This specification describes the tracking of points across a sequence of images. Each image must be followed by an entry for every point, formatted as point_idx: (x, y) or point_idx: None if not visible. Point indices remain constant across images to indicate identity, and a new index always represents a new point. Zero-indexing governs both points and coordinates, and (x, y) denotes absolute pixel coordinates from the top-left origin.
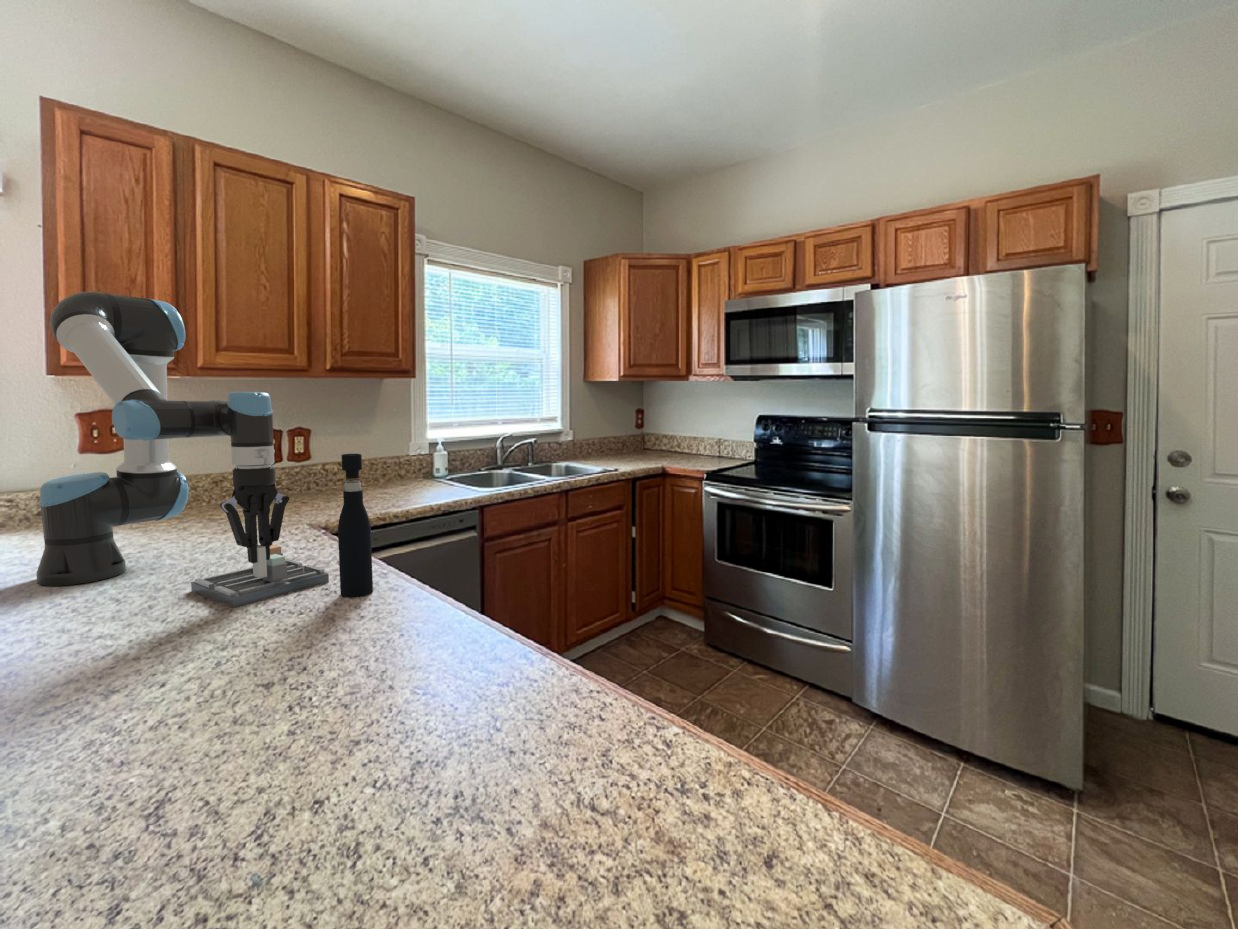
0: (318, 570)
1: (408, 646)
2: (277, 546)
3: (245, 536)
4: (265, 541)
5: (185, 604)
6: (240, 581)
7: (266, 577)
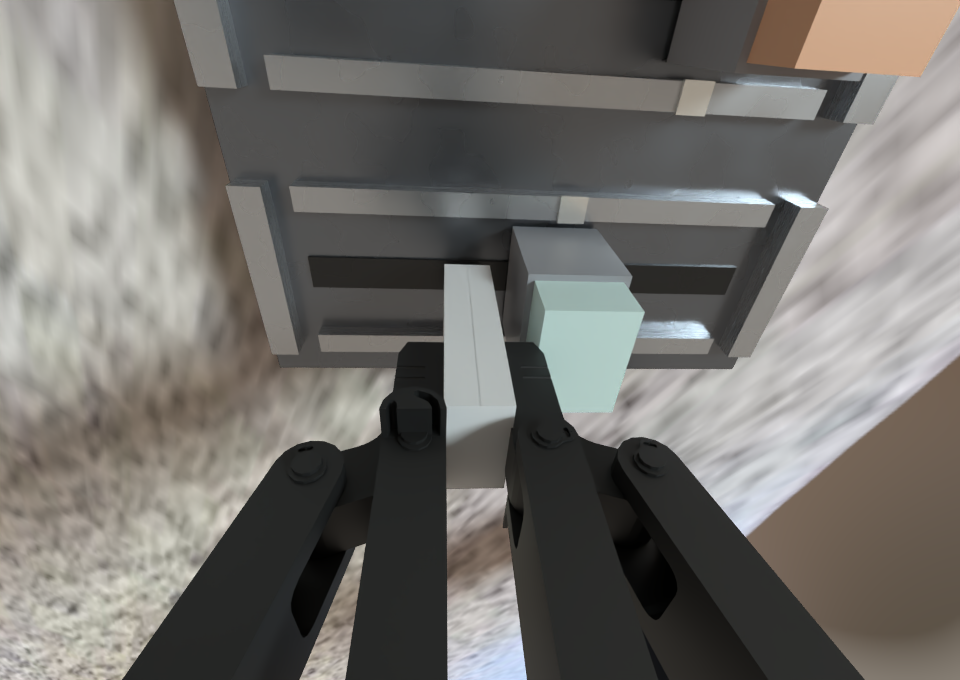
0: (732, 343)
1: (447, 676)
2: (924, 30)
3: (313, 629)
4: (517, 524)
5: (93, 76)
6: (422, 109)
7: (510, 272)
